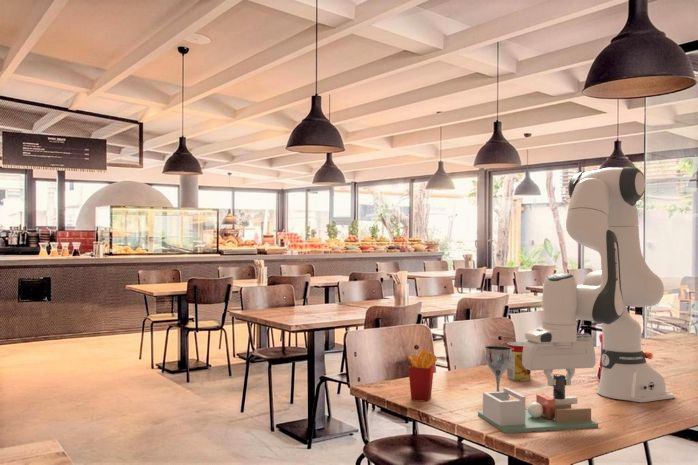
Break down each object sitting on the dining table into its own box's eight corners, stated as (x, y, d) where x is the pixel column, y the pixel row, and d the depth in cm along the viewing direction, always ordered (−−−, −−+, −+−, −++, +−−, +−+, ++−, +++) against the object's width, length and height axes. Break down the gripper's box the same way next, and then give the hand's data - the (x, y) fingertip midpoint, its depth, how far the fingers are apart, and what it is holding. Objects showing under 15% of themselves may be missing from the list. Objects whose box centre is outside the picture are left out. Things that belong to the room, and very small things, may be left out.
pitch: (563, 410, 173) (563, 382, 173) (598, 427, 157) (598, 396, 158) (478, 415, 167) (478, 386, 167) (505, 433, 152) (505, 401, 152)
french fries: (407, 400, 183) (407, 349, 183) (414, 393, 190) (414, 345, 190) (436, 403, 179) (436, 352, 180) (442, 396, 187) (442, 347, 187)
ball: (539, 413, 165) (537, 399, 165) (547, 418, 161) (545, 403, 161) (525, 416, 164) (524, 401, 164) (533, 420, 160) (531, 405, 160)
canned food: (535, 379, 212) (535, 344, 212) (517, 381, 209) (517, 346, 209) (519, 374, 219) (519, 341, 219) (502, 376, 216) (502, 342, 216)
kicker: (569, 410, 168) (569, 372, 168) (582, 416, 162) (582, 377, 162) (536, 412, 166) (536, 373, 166) (548, 419, 160) (548, 378, 160)
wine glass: (512, 394, 191) (512, 346, 191) (510, 400, 183) (510, 350, 183) (486, 392, 193) (486, 344, 193) (483, 398, 186) (483, 348, 186)
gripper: (586, 331, 170) (586, 381, 169) (519, 333, 165) (519, 384, 165) (600, 334, 163) (600, 386, 163) (531, 336, 159) (531, 390, 159)
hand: (559, 385), depth 164 cm, fingers open, 3 cm apart
